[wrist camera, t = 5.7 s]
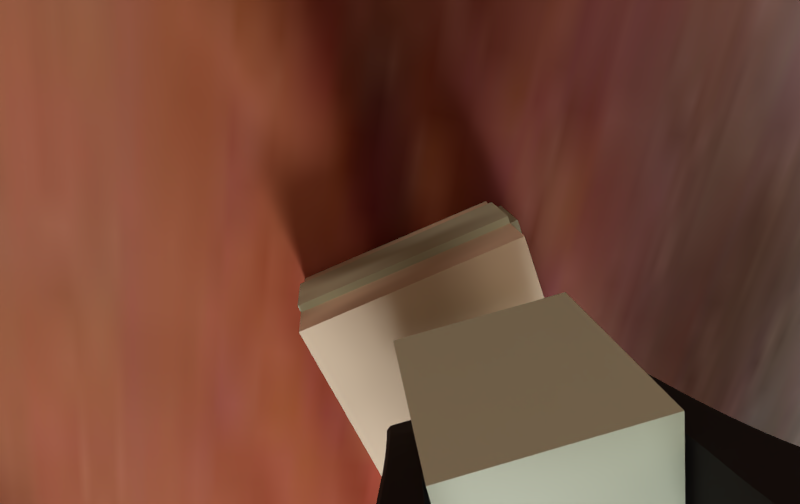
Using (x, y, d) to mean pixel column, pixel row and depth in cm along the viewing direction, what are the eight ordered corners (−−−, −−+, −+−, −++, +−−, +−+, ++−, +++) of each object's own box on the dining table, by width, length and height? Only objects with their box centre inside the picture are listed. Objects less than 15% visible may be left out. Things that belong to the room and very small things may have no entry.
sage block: (430, 470, 14) (473, 645, 10) (393, 340, 12) (425, 486, 8) (581, 426, 14) (685, 581, 10) (565, 292, 12) (684, 410, 8)
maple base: (379, 414, 20) (390, 492, 17) (302, 270, 18) (295, 325, 14) (540, 346, 20) (587, 410, 17) (487, 190, 18) (530, 225, 14)
